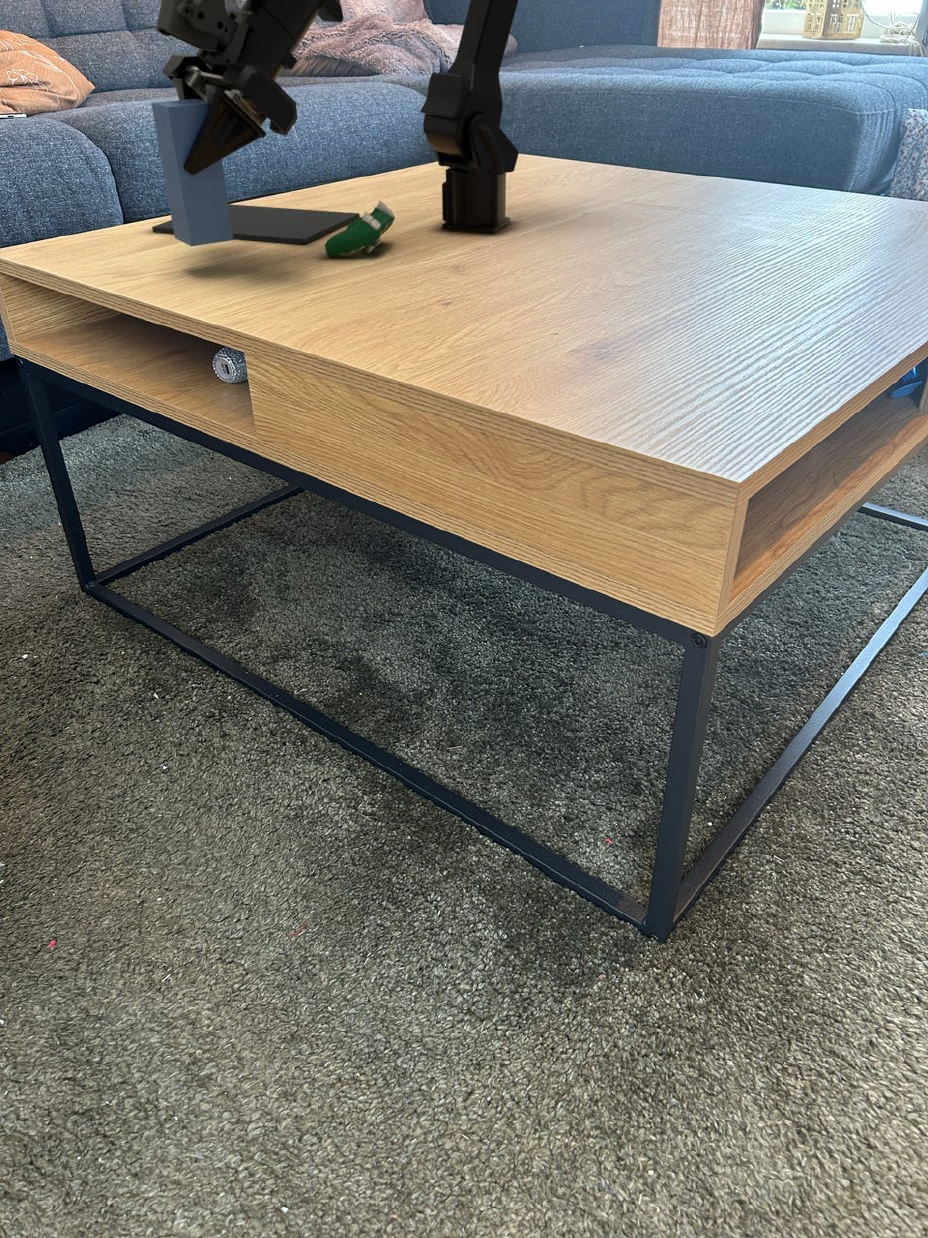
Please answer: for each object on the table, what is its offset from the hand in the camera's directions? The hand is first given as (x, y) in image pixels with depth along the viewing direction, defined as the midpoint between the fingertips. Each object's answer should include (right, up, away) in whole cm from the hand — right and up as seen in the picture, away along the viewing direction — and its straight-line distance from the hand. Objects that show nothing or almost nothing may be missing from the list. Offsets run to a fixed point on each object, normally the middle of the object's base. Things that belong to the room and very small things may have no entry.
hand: (178, 168), depth 91 cm
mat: (+3, +4, +23) cm, 24 cm away
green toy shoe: (+16, -3, +13) cm, 21 cm away
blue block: (+1, -5, +4) cm, 7 cm away
